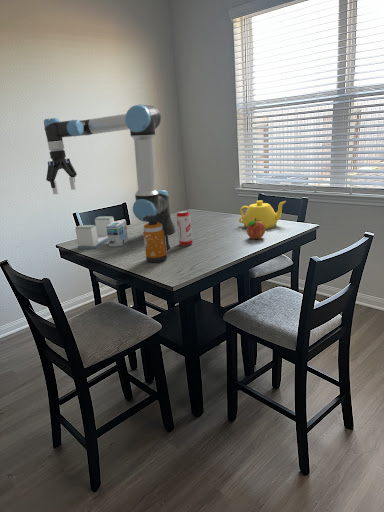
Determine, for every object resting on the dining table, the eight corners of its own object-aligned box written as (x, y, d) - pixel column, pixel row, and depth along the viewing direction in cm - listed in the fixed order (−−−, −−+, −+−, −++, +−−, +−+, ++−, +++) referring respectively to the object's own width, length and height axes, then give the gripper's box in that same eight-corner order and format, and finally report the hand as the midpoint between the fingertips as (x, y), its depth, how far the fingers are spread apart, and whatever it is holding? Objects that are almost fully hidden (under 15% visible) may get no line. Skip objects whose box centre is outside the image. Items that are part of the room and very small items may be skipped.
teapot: (288, 222, 211) (288, 196, 207) (284, 230, 195) (284, 203, 191) (242, 222, 219) (241, 198, 215) (235, 230, 204) (234, 204, 199)
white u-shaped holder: (117, 235, 215) (114, 216, 211) (95, 248, 194) (91, 227, 191) (101, 235, 218) (97, 216, 214) (78, 248, 197) (74, 227, 194)
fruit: (269, 237, 187) (268, 216, 184) (257, 242, 180) (257, 221, 177) (254, 234, 193) (253, 215, 189) (242, 239, 186) (241, 219, 183)
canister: (146, 257, 173) (141, 213, 167) (171, 254, 174) (166, 210, 167) (146, 264, 165) (140, 217, 158) (172, 261, 165) (167, 215, 159)
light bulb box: (121, 246, 194) (118, 225, 190) (108, 246, 195) (105, 225, 192) (128, 240, 204) (126, 220, 200) (116, 240, 205) (113, 220, 202)
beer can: (194, 242, 189) (191, 210, 184) (190, 246, 184) (186, 213, 179) (182, 242, 191) (179, 210, 186) (177, 246, 186) (174, 213, 181)
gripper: (67, 148, 212) (75, 187, 218) (33, 153, 191) (42, 196, 197) (78, 147, 209) (85, 187, 215) (44, 152, 187) (53, 196, 194)
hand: (65, 191), depth 206 cm, fingers open, 13 cm apart
